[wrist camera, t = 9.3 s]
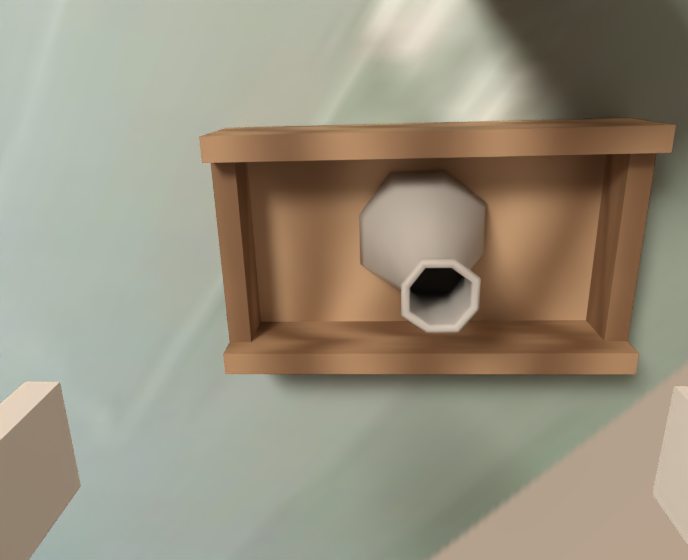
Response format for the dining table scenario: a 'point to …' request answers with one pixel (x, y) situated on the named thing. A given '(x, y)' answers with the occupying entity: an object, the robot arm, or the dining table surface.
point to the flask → (426, 246)
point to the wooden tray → (492, 267)
